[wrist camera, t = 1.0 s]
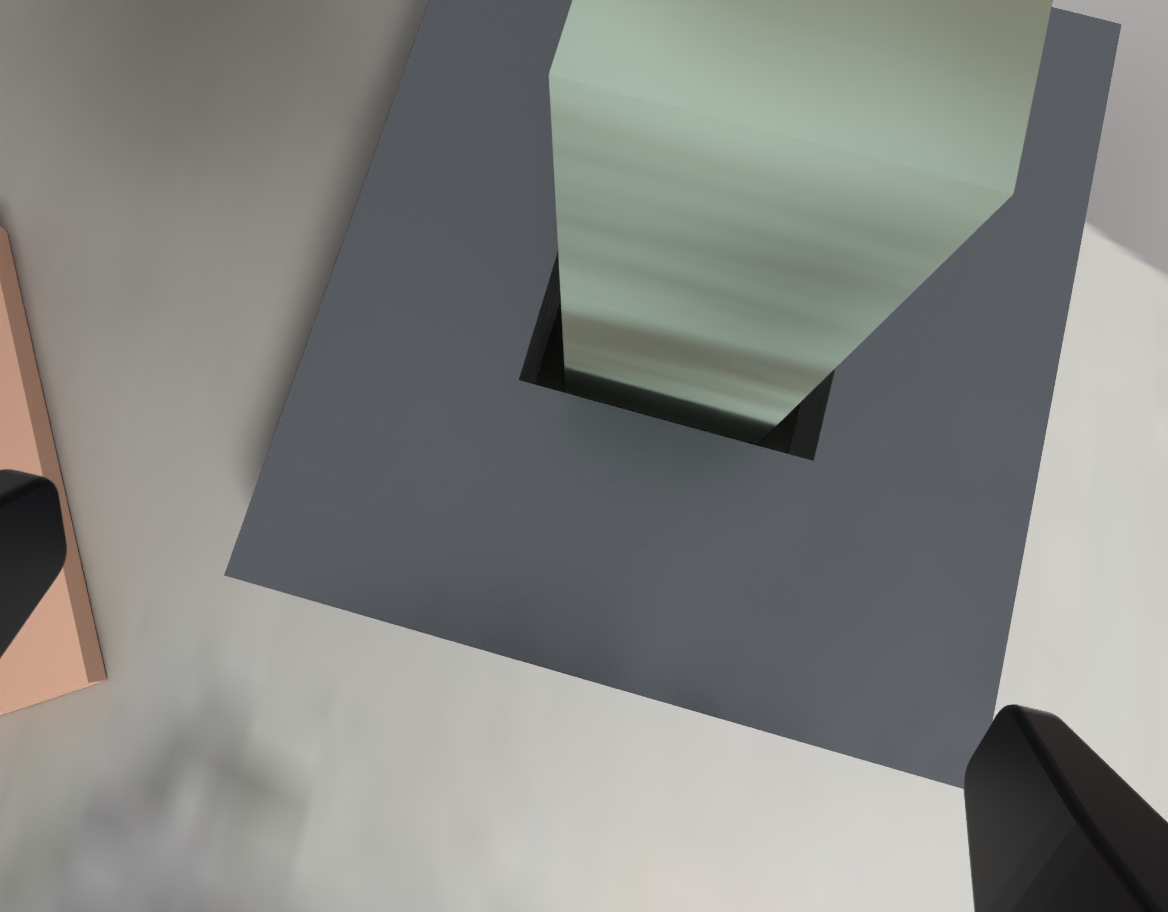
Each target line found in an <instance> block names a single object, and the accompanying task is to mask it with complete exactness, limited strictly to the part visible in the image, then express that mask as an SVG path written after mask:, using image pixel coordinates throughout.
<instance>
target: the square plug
mask: <svg viewBox="0 0 1168 912" xmlns="http://www.w3.org/2000/svg"><path fill="white" fill-rule="evenodd" d="M1052 2H1053V0H572V3H571V6H570V10H569V13H568V16H567V19H566V22H565V25H564V28H563V31H562V34H561V38H560V41H559V44H558V47H557V50H556V53H555V56H554V59H553V63H552V66H551V69H550V72H549V88H550V107H551V126H552V144H553V163H554V181H555V200H556V219H557V237H558V256H559V274H560V293H561V312H562V330H563V349H564V367H565V386H566V392H569V393H573V394H576V395H580V396H583V397H587V398H591V399H594V400H598V401H602V402H605V403H609V404H613V405H616V406H620V407H624V408H627V409H631V410H635V411H638V412H642V413H645V414H649V415H653V416H656V417H660V418H664V419H667V420H671V421H675V422H678V423H682V424H686V425H689V426H693V427H697V428H700V429H704V430H708V431H711V432H715V433H718V434H722V435H726V436H729V437H733V438H737V439H740V440H744V441H748V442H751V443H755V444H758V443H759V442H760V441H761V440H762V439H763V438H764V437H765V436H766V435H767V434H768V433H769V432H770V431H771V430H772V429H773V428H774V427H775V426H777V425H778V424H779V423H780V422H781V421H782V420H783V419H784V418H785V417H786V416H787V415H788V414H789V413H790V412H791V411H792V410H793V409H794V408H795V407H796V406H797V405H798V404H799V403H800V402H801V401H802V400H803V399H804V398H805V397H806V396H807V395H808V394H809V393H810V392H811V391H812V390H813V389H814V388H815V387H816V386H817V385H818V384H820V383H821V382H822V381H823V380H824V379H825V378H826V377H827V376H828V375H829V374H830V373H831V372H832V371H833V370H834V369H835V368H836V367H837V366H838V365H839V364H840V363H841V362H842V361H843V360H844V359H845V358H846V357H847V356H848V355H849V354H850V353H851V352H852V351H853V350H854V349H855V348H856V347H857V346H858V345H859V344H860V343H861V342H862V341H864V340H865V339H866V338H867V337H868V336H869V335H870V334H871V333H872V332H873V331H874V330H875V329H876V328H877V327H878V326H879V325H880V324H881V323H882V322H883V321H884V320H885V319H886V318H887V317H888V316H889V315H890V314H891V313H892V312H893V311H894V310H895V309H896V308H897V307H898V306H899V305H900V304H901V303H902V302H903V301H904V300H905V299H907V298H908V297H909V296H910V295H911V294H912V293H913V292H914V291H915V290H916V289H917V288H918V287H919V286H920V285H921V284H922V283H923V282H924V281H925V280H926V279H927V278H928V277H929V276H930V275H931V274H932V273H933V272H934V271H935V270H936V269H937V268H938V267H939V266H940V265H941V264H942V263H943V262H944V261H945V260H946V259H947V258H948V257H949V256H951V255H952V254H953V253H954V252H955V251H956V250H957V249H958V248H959V247H960V246H961V245H962V244H963V243H964V242H965V241H966V240H967V239H968V238H969V237H970V236H971V235H972V234H973V233H974V232H975V231H976V230H977V229H978V228H979V227H980V226H981V225H982V224H983V223H984V222H985V221H986V220H987V219H988V218H989V217H990V216H991V215H992V214H994V213H995V212H996V211H997V210H998V209H999V208H1000V207H1001V206H1002V205H1003V204H1004V203H1005V202H1006V201H1007V200H1008V199H1009V198H1010V197H1011V196H1012V195H1013V194H1014V189H1015V184H1016V179H1017V174H1018V169H1019V164H1020V159H1021V154H1022V150H1023V145H1024V140H1025V135H1026V130H1027V125H1028V120H1029V115H1030V110H1031V105H1032V100H1033V95H1034V90H1035V85H1036V81H1037V76H1038V71H1039V66H1040V61H1041V56H1042V51H1043V46H1044V41H1045V36H1046V31H1047V26H1048V21H1049V16H1050V12H1051V7H1052Z"/></svg>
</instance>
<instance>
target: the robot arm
mask: <svg viewBox="0 0 1168 912" xmlns="http://www.w3.org/2000/svg"><path fill="white" fill-rule="evenodd" d="M66 555H67V542H66V536H65V530H64V523H63V517H62V511H61V505H60V498H59V493H58V489H57V487H56V486H55V484H54V483H53V481H51V480H50V479H48V478H46V477H44V476H39V475H35V474H31V473H27V472H22V471H18V470H12V469H3V470H0V659H1V657H2V656H3V654H4V653H5V651H6V650H7V649H8V647H9V646H10V644H11V643H12V641H13V640H14V638H15V637H16V636H17V634H18V633H19V631H20V630H21V628H22V627H23V626H24V624H25V623H26V621H27V620H28V618H29V617H30V616H31V614H32V613H33V611H34V610H35V608H36V607H37V605H38V604H39V603H40V601H41V600H42V598H43V597H44V595H45V594H46V593H47V591H48V590H49V588H50V587H51V585H52V584H53V583H54V581H55V580H56V578H57V577H58V575H59V574H60V572H61V570H62V568H63V566H64V563H65V560H66ZM964 798H965V809H966V821H967V832H968V843H969V855H970V866H971V878H972V889H973V900H974V912H1168V822H1167V821H1166V820H1164V819H1163V818H1162V817H1161V816H1160V815H1159V814H1158V813H1157V812H1156V811H1155V810H1154V809H1153V808H1152V807H1151V806H1150V805H1149V804H1148V803H1147V802H1146V801H1145V800H1144V799H1143V798H1142V797H1141V796H1140V795H1139V794H1138V793H1137V792H1136V791H1135V790H1133V789H1132V788H1131V787H1130V786H1129V785H1128V784H1127V783H1126V782H1125V781H1124V780H1123V779H1122V778H1121V777H1120V776H1119V775H1118V774H1117V773H1116V772H1115V771H1114V770H1113V769H1112V768H1111V767H1110V766H1109V765H1108V764H1107V763H1106V762H1105V761H1104V760H1103V759H1101V758H1100V757H1099V756H1098V755H1097V754H1096V753H1095V752H1094V751H1093V750H1092V749H1091V748H1090V747H1089V746H1088V745H1087V744H1086V743H1085V742H1084V741H1083V740H1082V739H1081V738H1080V737H1079V736H1078V735H1077V734H1076V733H1075V732H1074V731H1073V730H1072V729H1070V728H1069V727H1068V726H1067V725H1066V724H1065V723H1064V722H1063V721H1062V720H1061V719H1060V718H1059V717H1057V716H1056V715H1054V714H1052V713H1049V712H1046V711H1042V710H1037V709H1033V708H1029V707H1024V706H1020V705H1014V704H1013V705H1007V706H1005V707H1004V708H1002V709H1001V710H1000V711H999V712H998V714H997V715H996V717H995V718H994V720H993V722H992V723H991V725H990V727H989V728H988V730H987V732H986V733H985V735H984V737H983V738H982V740H981V742H980V743H979V745H978V747H977V748H976V750H975V752H974V753H973V755H972V757H971V758H970V760H969V762H968V765H967V768H966V771H965V776H964Z"/></svg>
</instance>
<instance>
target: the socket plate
mask: <svg viewBox="0 0 1168 912" xmlns="http://www.w3.org/2000/svg"><path fill="white" fill-rule="evenodd" d="M571 3H572V0H429V2H428V5H427V7H426V10H425V13H424V16H423V19H422V21H421V24H420V27H419V30H418V33H417V35H416V38H415V41H414V44H413V47H412V49H411V52H410V55H409V58H408V61H407V63H406V66H405V69H404V72H403V75H402V78H401V80H400V83H399V86H398V89H397V92H396V94H395V97H394V100H393V103H392V106H391V108H390V111H389V114H388V117H387V120H386V122H385V125H384V128H383V131H382V134H381V137H380V139H379V142H378V145H377V148H376V151H375V153H374V156H373V159H372V162H371V165H370V167H369V170H368V173H367V176H366V179H365V181H364V184H363V187H362V190H361V193H360V196H359V198H358V201H357V204H356V207H355V210H354V212H353V215H352V218H351V221H350V224H349V226H348V229H347V232H346V235H345V238H344V240H343V243H342V246H341V249H340V252H339V254H338V257H337V260H336V263H335V266H334V269H333V271H332V274H331V277H330V280H329V283H328V285H327V288H326V291H325V294H324V297H323V299H322V302H321V305H320V308H319V311H318V313H317V316H316V319H315V322H314V325H313V328H312V330H311V333H310V336H309V339H308V342H307V344H306V347H305V350H304V353H303V356H302V358H301V361H300V364H299V367H298V370H297V372H296V375H295V378H294V381H293V384H292V387H291V389H290V392H289V395H288V398H287V401H286V403H285V406H284V409H283V412H282V415H281V417H280V420H279V423H278V426H277V429H276V431H275V434H274V437H273V440H272V443H271V445H270V448H269V451H268V454H267V457H266V460H265V462H264V465H263V468H262V471H261V474H260V476H259V479H258V482H257V485H256V488H255V490H254V493H253V496H252V499H251V502H250V504H249V507H248V510H247V513H246V516H245V519H244V521H243V524H242V527H241V530H240V533H239V535H238V538H237V541H236V544H235V547H234V549H233V552H232V555H231V558H230V561H229V563H228V566H227V569H226V572H225V576H229V577H232V578H236V579H239V580H243V581H246V582H249V583H253V584H256V585H260V586H263V587H267V588H270V589H274V590H277V591H281V592H284V593H288V594H291V595H294V596H298V597H301V598H305V599H308V600H312V601H315V602H319V603H322V604H326V605H329V606H333V607H336V608H339V609H343V610H346V611H350V612H353V613H357V614H360V615H364V616H367V617H371V618H374V619H378V620H381V621H384V622H388V623H391V624H395V625H398V626H402V627H405V628H409V629H412V630H416V631H419V632H423V633H426V634H429V635H433V636H436V637H440V638H443V639H447V640H450V641H454V642H457V643H461V644H464V645H467V646H471V647H474V648H478V649H481V650H485V651H488V652H492V653H495V654H499V655H502V656H506V657H509V658H512V659H516V660H519V661H523V662H526V663H530V664H533V665H537V666H540V667H544V668H547V669H551V670H554V671H557V672H561V673H564V674H568V675H571V676H575V677H578V678H582V679H585V680H589V681H592V682H596V683H599V684H602V685H606V686H609V687H613V688H616V689H620V690H623V691H627V692H630V693H634V694H637V695H641V696H644V697H647V698H651V699H654V700H658V701H661V702H665V703H668V704H672V705H675V706H679V707H682V708H686V709H689V710H692V711H696V712H699V713H703V714H706V715H710V716H713V717H717V718H720V719H724V720H727V721H731V722H734V723H737V724H741V725H744V726H748V727H751V728H755V729H758V730H762V731H765V732H769V733H772V734H776V735H779V736H782V737H786V738H789V739H793V740H796V741H800V742H803V743H807V744H810V745H814V746H817V747H820V748H824V749H827V750H831V751H834V752H838V753H841V754H845V755H848V756H852V757H855V758H859V759H862V760H865V761H869V762H872V763H876V764H879V765H883V766H886V767H890V768H893V769H897V770H900V771H904V772H907V773H910V774H914V775H917V776H921V777H924V778H928V779H931V780H935V781H938V782H942V783H945V784H949V785H952V786H955V787H959V788H962V789H964V776H965V771H966V768H967V765H968V762H969V760H970V758H971V757H972V755H973V753H974V752H975V750H976V748H977V747H978V745H979V743H980V742H981V740H982V738H983V737H984V735H985V733H986V732H987V730H988V728H989V727H990V725H991V723H992V721H993V715H994V710H995V705H996V699H997V694H998V688H999V683H1000V678H1001V672H1002V667H1003V661H1004V656H1005V651H1006V645H1007V640H1008V634H1009V629H1010V624H1011V618H1012V613H1013V607H1014V602H1015V596H1016V591H1017V586H1018V580H1019V575H1020V569H1021V564H1022V559H1023V553H1024V548H1025V542H1026V537H1027V532H1028V526H1029V521H1030V515H1031V510H1032V504H1033V499H1034V494H1035V488H1036V483H1037V477H1038V472H1039V467H1040V461H1041V456H1042V450H1043V445H1044V440H1045V434H1046V429H1047V423H1048V418H1049V412H1050V407H1051V402H1052V396H1053V391H1054V385H1055V380H1056V375H1057V369H1058V364H1059V358H1060V353H1061V348H1062V342H1063V337H1064V331H1065V326H1066V321H1067V315H1068V310H1069V304H1070V299H1071V293H1072V288H1073V283H1074V277H1075V272H1076V266H1077V261H1078V256H1079V250H1080V245H1081V239H1082V234H1083V229H1084V223H1085V218H1086V212H1087V207H1088V201H1089V195H1090V190H1091V185H1092V179H1093V174H1094V169H1095V163H1096V158H1097V152H1098V147H1099V141H1100V137H1101V131H1102V125H1103V120H1104V115H1105V109H1106V104H1107V99H1108V93H1109V87H1110V82H1111V76H1112V71H1113V66H1114V61H1115V55H1116V50H1117V45H1118V38H1119V34H1120V28H1121V24H1118V23H1114V22H1110V21H1106V20H1102V19H1098V18H1094V17H1090V16H1086V15H1082V14H1078V13H1074V12H1070V11H1066V10H1061V9H1057V8H1053V7H1051V12H1050V16H1049V21H1048V26H1047V31H1046V36H1045V41H1044V46H1043V51H1042V56H1041V61H1040V66H1039V71H1038V76H1037V81H1036V85H1035V90H1034V95H1033V100H1032V105H1031V110H1030V115H1029V120H1028V125H1027V130H1026V135H1025V140H1024V145H1023V150H1022V154H1021V159H1020V164H1019V169H1018V174H1017V179H1016V184H1015V189H1014V194H1013V195H1012V196H1011V197H1010V198H1009V199H1008V200H1007V201H1006V202H1005V203H1004V204H1003V205H1002V206H1001V207H1000V208H999V209H998V210H997V211H996V212H995V213H994V214H992V215H991V216H990V217H989V218H988V219H987V220H986V221H985V222H984V223H983V224H982V225H981V226H980V227H979V228H978V229H977V230H976V231H975V232H974V233H973V234H972V235H971V236H970V237H969V238H968V239H967V240H966V241H965V242H964V243H963V244H962V245H961V246H960V247H959V248H958V249H957V250H956V251H955V252H954V253H953V254H952V255H951V256H949V257H948V258H947V259H946V260H945V261H944V262H943V263H942V264H941V265H940V266H939V267H938V268H937V269H936V270H935V271H934V272H933V273H932V274H931V275H930V276H929V277H928V278H927V279H926V280H925V281H924V282H923V283H922V284H921V285H920V286H919V287H918V288H917V289H916V290H915V291H914V292H913V293H912V294H911V295H910V296H909V297H908V298H907V299H905V300H904V301H903V302H902V303H901V304H900V305H899V306H898V307H897V308H896V309H895V310H894V311H893V312H892V313H891V314H890V315H889V316H888V317H887V318H886V319H885V320H884V321H883V322H882V323H881V324H880V325H879V326H878V327H877V328H876V329H875V330H874V331H873V332H872V333H871V334H870V335H869V336H868V337H867V338H866V339H865V340H864V341H862V342H861V343H860V344H859V345H858V346H857V347H856V348H855V349H854V350H853V351H852V352H851V353H850V354H849V355H848V356H847V357H846V358H845V359H844V360H843V361H842V362H841V363H840V364H839V365H838V366H837V367H836V368H835V369H834V370H833V371H832V372H831V373H830V374H829V375H828V376H827V377H826V378H825V379H824V380H823V381H822V382H821V383H820V384H818V385H817V386H816V387H815V388H814V389H813V390H812V391H811V392H810V393H809V394H808V395H807V396H806V397H805V398H804V399H803V400H802V401H801V404H800V408H799V412H798V416H797V420H796V424H795V428H794V433H793V437H792V441H791V445H790V449H789V453H788V454H786V453H782V452H779V451H775V450H771V449H768V448H764V447H760V446H757V445H753V444H749V443H746V442H742V441H739V440H735V439H731V438H728V437H724V436H720V435H717V434H713V433H709V432H706V431H702V430H698V429H695V428H691V427H687V426H684V425H680V424H677V423H673V422H669V421H666V420H662V419H658V418H655V417H651V416H647V415H644V414H640V413H636V412H633V411H629V410H625V409H622V408H618V407H615V406H611V405H607V404H604V403H600V402H596V401H593V400H589V399H585V398H582V397H578V396H574V395H571V394H567V393H563V392H560V391H556V390H553V389H549V388H545V387H542V386H538V385H535V383H536V380H537V376H538V373H539V370H540V366H541V363H542V360H543V356H544V353H545V350H546V346H547V343H548V340H549V336H550V333H551V330H552V326H553V323H554V320H555V317H556V313H557V310H558V307H559V303H560V300H561V293H560V274H559V256H558V237H557V219H556V200H555V181H554V163H553V144H552V126H551V107H550V88H549V72H550V69H551V66H552V63H553V59H554V56H555V53H556V50H557V47H558V44H559V41H560V38H561V34H562V31H563V28H564V25H565V22H566V19H567V16H568V13H569V10H570V6H571Z"/></svg>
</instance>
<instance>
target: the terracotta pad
mask: <svg viewBox="0 0 1168 912" xmlns="http://www.w3.org/2000/svg"><path fill="white" fill-rule="evenodd" d="M3 469H12V470H18V471H22V472H27V473H31V474H35V475H39V476H44V477H46V478H48V479H50V480H51V481H53V483H54V484H55V486H56V487H57V489H58V493H59V498H60V505H61V511H62V517H63V523H64V530H65V536H66V542H67V555H66V560H65V563H64V566H63V568H62V570H61V572H60V574H59V575H58V577H57V578H56V580H55V581H54V583H53V584H52V585H51V587H50V588H49V590H48V591H47V593H46V594H45V595H44V597H43V598H42V600H41V601H40V603H39V604H38V605H37V607H36V608H35V610H34V611H33V613H32V614H31V616H30V617H29V618H28V620H27V621H26V623H25V624H24V626H23V627H22V628H21V630H20V631H19V633H18V634H17V636H16V637H15V638H14V640H13V641H12V643H11V644H10V646H9V647H8V649H7V650H6V651H5V653H4V654H3V656H2V657H1V659H0V715H3V714H6V713H9V712H12V711H15V710H18V709H21V708H25V707H28V706H31V705H34V704H37V703H40V702H43V701H46V700H49V699H52V698H55V697H58V696H61V695H64V694H67V693H70V692H73V691H76V690H79V689H82V688H85V687H88V686H91V685H94V684H97V683H100V682H103V681H107V678H106V674H105V669H104V665H103V660H102V656H101V651H100V647H99V642H98V638H97V633H96V629H95V624H94V620H93V615H92V611H91V606H90V602H89V598H88V593H87V589H86V584H85V580H84V575H83V571H82V566H81V562H80V557H79V553H78V548H77V544H76V539H75V535H74V530H73V526H72V521H71V517H70V512H69V508H68V503H67V499H66V494H65V490H64V485H63V481H62V476H61V472H60V467H59V463H58V458H57V454H56V449H55V445H54V440H53V436H52V431H51V427H50V423H49V418H48V414H47V409H46V405H45V400H44V396H43V391H42V387H41V382H40V378H39V373H38V369H37V364H36V360H35V355H34V351H33V346H32V342H31V337H30V333H29V328H28V324H27V319H26V315H25V310H24V306H23V301H22V297H21V292H20V288H19V283H18V279H17V274H16V270H15V265H14V261H13V256H12V252H11V248H10V243H9V239H8V234H7V231H6V230H5V229H3V228H2V227H0V470H3Z"/></svg>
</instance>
